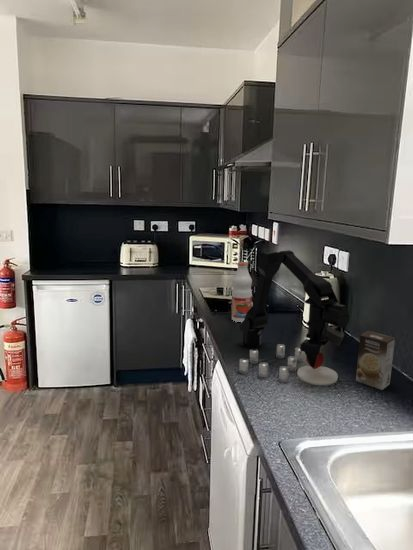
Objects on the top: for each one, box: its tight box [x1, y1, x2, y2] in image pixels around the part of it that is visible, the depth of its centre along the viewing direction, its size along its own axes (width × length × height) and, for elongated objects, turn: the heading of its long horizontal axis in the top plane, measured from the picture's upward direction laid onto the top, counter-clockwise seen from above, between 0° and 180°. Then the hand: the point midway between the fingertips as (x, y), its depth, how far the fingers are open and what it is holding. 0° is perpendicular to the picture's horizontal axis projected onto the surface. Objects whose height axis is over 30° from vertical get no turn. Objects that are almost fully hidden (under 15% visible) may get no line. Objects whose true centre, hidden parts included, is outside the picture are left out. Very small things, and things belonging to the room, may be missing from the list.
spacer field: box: [238, 343, 305, 384], centre depth 148 cm, size 17×22×4 cm
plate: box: [296, 364, 339, 387], centre depth 140 cm, size 13×13×1 cm
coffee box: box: [355, 330, 396, 391], centre depth 134 cm, size 9×6×16 cm
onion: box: [305, 352, 325, 369], centre depth 139 cm, size 6×6×8 cm
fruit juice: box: [231, 261, 253, 324], centre depth 197 cm, size 9×9×28 cm
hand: (314, 363), depth 140 cm, fingers closed on onion, 6 cm apart
